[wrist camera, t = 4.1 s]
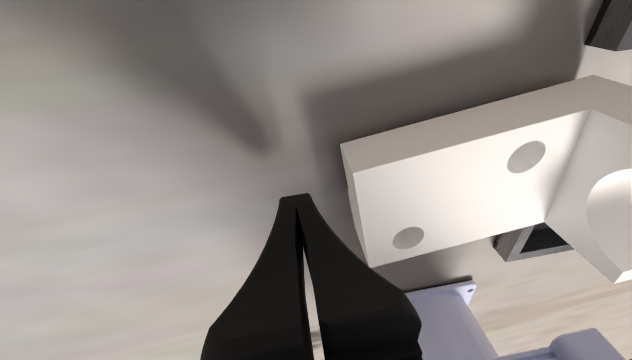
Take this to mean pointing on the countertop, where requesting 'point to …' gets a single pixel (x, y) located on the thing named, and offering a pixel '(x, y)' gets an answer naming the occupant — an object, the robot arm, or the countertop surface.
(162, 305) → the countertop surface
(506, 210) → the bracket
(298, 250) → the robot arm
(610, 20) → the trap pits
